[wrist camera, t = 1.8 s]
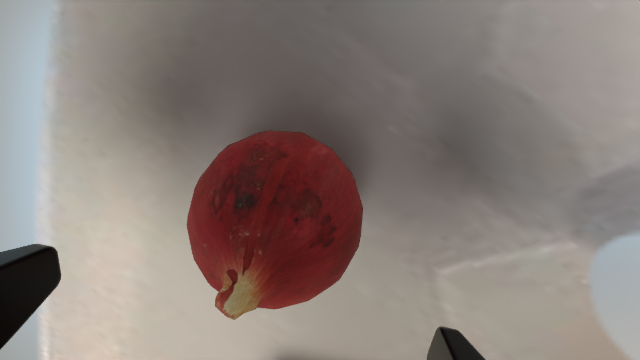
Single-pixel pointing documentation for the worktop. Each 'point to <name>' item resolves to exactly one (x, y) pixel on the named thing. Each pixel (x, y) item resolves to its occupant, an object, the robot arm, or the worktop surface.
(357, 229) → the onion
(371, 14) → the worktop surface
